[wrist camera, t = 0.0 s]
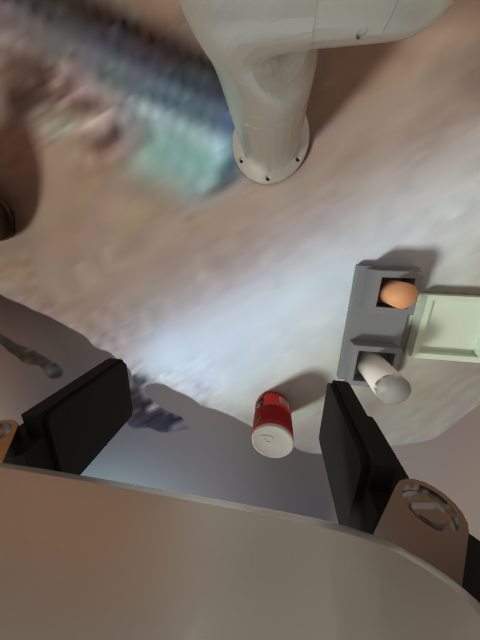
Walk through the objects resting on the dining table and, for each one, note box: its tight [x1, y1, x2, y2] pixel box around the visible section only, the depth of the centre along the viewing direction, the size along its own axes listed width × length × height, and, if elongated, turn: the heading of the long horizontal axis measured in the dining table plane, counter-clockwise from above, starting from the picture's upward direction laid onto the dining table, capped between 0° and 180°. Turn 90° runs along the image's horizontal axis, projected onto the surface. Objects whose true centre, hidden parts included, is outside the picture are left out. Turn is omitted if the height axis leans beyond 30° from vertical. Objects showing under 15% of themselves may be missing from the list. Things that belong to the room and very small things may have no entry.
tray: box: [405, 293, 480, 363], centre depth 41 cm, size 12×12×2 cm
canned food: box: [252, 392, 294, 458], centre depth 48 cm, size 8×8×11 cm
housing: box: [337, 265, 424, 387], centre depth 42 cm, size 23×10×6 cm, turn 179°
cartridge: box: [356, 351, 411, 404], centre depth 40 cm, size 5×5×10 cm
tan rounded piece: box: [378, 280, 418, 309], centre depth 36 cm, size 4×4×4 cm
